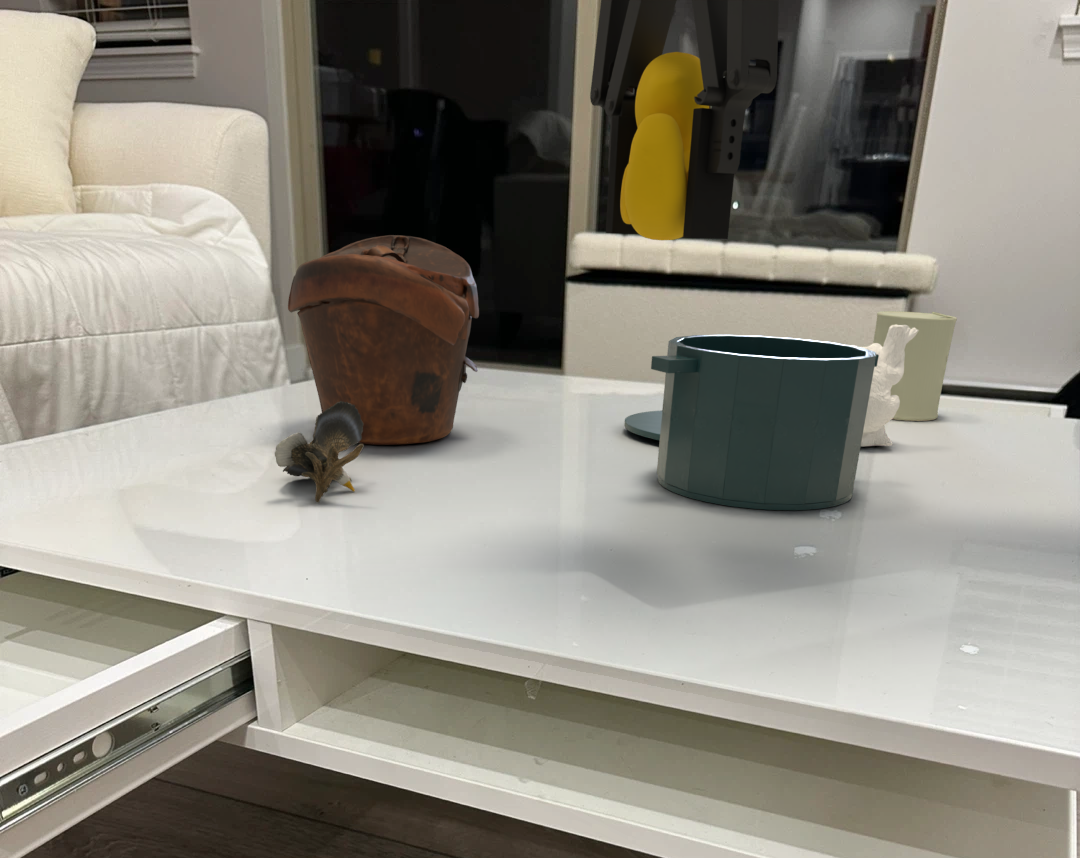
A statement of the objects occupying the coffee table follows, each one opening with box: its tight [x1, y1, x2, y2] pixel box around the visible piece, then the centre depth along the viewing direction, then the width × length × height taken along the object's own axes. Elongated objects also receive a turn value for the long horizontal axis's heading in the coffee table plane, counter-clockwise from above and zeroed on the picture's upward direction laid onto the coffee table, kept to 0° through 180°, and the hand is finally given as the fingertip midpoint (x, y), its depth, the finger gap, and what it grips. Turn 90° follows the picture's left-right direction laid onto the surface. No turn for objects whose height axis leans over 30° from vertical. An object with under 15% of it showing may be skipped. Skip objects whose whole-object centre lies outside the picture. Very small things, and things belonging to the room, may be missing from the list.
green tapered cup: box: [872, 310, 958, 422], centre depth 127 cm, size 9×9×12 cm
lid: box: [623, 410, 662, 442], centre depth 110 cm, size 18×18×4 cm
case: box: [287, 234, 480, 446], centre depth 101 cm, size 18×20×18 cm
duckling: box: [620, 51, 711, 241], centre depth 63 cm, size 11×5×10 cm, turn 165°
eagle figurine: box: [274, 401, 365, 503], centre depth 82 cm, size 8×7×9 cm
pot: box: [650, 334, 879, 511], centre depth 89 cm, size 17×22×12 cm
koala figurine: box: [850, 325, 919, 448], centre depth 108 cm, size 8×7×12 cm
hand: (663, 235), depth 65 cm, fingers closed on duckling, 8 cm apart
